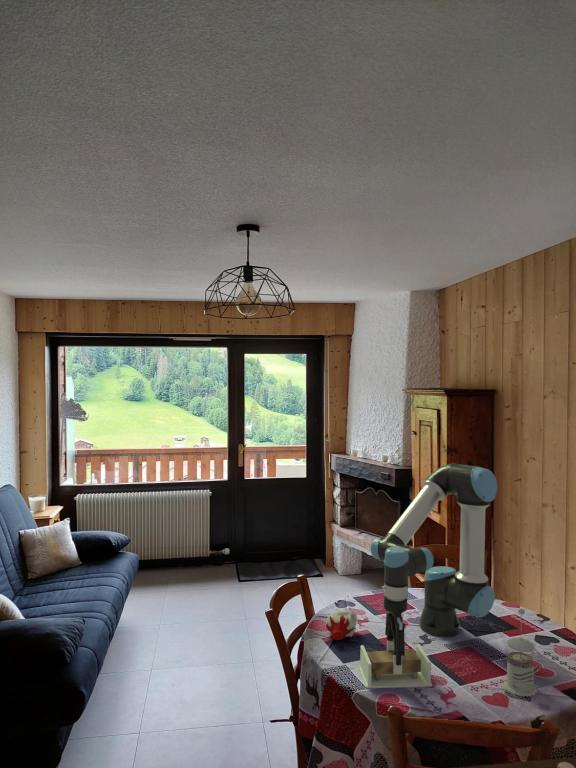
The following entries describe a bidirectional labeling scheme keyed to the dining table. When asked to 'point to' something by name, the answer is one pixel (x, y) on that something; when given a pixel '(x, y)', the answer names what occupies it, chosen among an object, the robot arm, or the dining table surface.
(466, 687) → the dining table surface
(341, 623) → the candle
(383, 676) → the shelf frame
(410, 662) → the brown long block
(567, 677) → the dining table surface
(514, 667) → the french press
